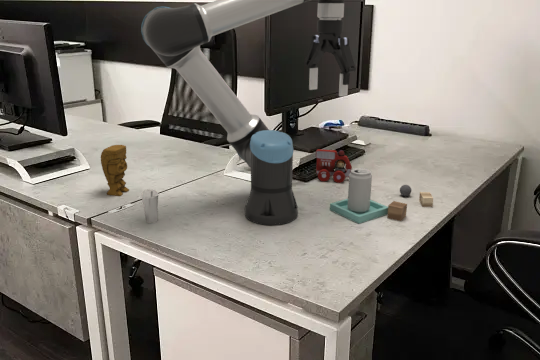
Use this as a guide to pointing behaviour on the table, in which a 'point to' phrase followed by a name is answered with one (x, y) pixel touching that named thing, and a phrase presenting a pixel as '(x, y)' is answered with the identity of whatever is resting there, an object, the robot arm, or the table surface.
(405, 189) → the black rubber ball
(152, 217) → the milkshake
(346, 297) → the table surface
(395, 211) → the walnut block
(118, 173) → the figurine
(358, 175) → the beverage can
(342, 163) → the toy fire truck
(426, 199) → the beech block
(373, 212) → the tray
